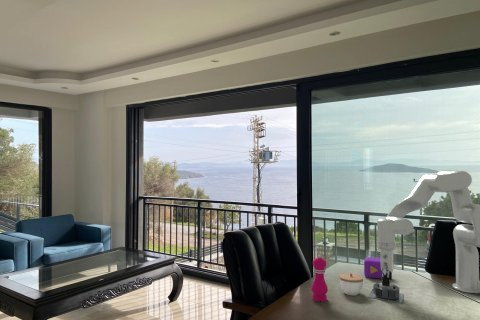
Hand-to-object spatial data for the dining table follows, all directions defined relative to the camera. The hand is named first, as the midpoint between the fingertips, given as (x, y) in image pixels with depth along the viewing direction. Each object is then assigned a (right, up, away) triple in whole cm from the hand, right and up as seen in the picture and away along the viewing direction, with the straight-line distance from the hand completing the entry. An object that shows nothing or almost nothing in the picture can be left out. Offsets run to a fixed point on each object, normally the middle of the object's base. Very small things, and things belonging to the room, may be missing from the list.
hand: (387, 282), depth 164 cm
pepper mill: (-32, -6, -5) cm, 33 cm away
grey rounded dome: (0, -5, 0) cm, 5 cm away
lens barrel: (-1, -6, 0) cm, 6 cm away
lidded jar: (-16, -6, +3) cm, 17 cm away
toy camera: (+7, -7, +30) cm, 31 cm away
